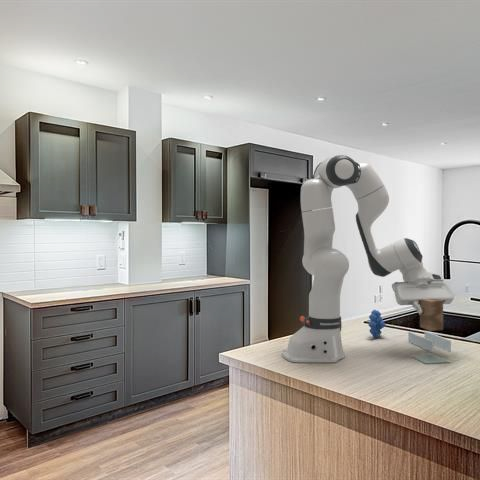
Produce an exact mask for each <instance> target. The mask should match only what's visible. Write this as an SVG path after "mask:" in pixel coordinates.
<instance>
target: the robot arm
mask: <svg viewBox="0 0 480 480" xmlns="http://www.w3.org/2000/svg"><path fill="white" fill-rule="evenodd" d="M344 186H345V187H347V189H349V190H350V192H351V193H352V195H353V196H354V199H355V201H356V203H357V208H358V210H357V213H356V214H355V222H356V226H357V228H358V229H357V230H358V231H359V236H360V239H361V241H362V244H363V245H362V246H363V248H364V250H365V254H366V257H367V263H368V267H369V269H370V271H371V273H373V275H375V276H377V277H381V278H385V277H387V276H389V275H390V274H392V273H394V272H396V271H399V272H400V274H401V275H402V280H403V281H395V282H394V283H392V284H391V288H392V290H393V292H394V298H395V301H396V303H397V304H398V305H399V306H412V308H413V309H415V310H416V311H417V313H418V315H420V314H424V313H425V311H424V308H421V307H420V300H421V299H437V300H441V301H443V305H450V304H452V303H453V300H454V299H455V295H454V293H453V291H452V288H450V285H449V284H448V283H447V282H445V278H444V276H443V275H441V274H436V273H433V272H430V271H427V270H426V268H425V267H424V263H423V257H424V255H423V254H422V252H421V251H420V248H419V245H418V244H417V242H416V241H415V240H413V239H410V238H408V237H407V238H406V237H404V238H402V239H399V240H396V241H394V242H393V243H390V244H389V245H386V246H383V247H382V248H377V247H376V243H375V241H374V238H373V235H372V232H371V230H372V229H371V228H372V225H373V224H374V222H375V221H376V220H377V219H378V218H379V217H380V216H381V215H382V214H383V213H384V212H385V210H386V209H387V207H388V206H389V202H390V197H389V193H388V191H387V188H386V186H385V184H384V183H383V180H382V179H381V178H380V176H379V174H378V173H377V172H376V170H375V169H374V167H372V165H370V163H367V162H356V161H355V160H354V159H353V158H351V157H350V156H347V155H346V154H345V155H344V154H339V155H334V156H332V157H328V158H326V159H324V160H323V161H321V162H320V163H318V164H317V166H316V167H315V169H314V172H313V175H312V178H310V179H308V180H306V181H305V182H303V183H302V185H301V187H300V210H301V211H300V212H301V217H302V225H303V236H304V239H303V256H302V260H301V261H302V266H303V268H304V269H305V271H306V272H307V273H308V274H309V275H311V276H313V282H312V286H311V290H310V291H309V294H308V315H307V316H306V317H305V316H303V315H301V316H300V317H299V320H300V322H302V323H303V326H302V327H301V328H300V329H298V330H297V331H296V332H295V333H293V334H292V335H291V336H290V337H289V340H288V344H287V348H284V349H282V351H281V356H282V357H283V358H284V359H285V360H286V361H289V362H292V363H338V361H339V360H341V359H344V358H345V352H344V348H343V341H342V336H341V335H342V328H343V327H342V317H341V294H342V293H341V292H342V286H343V282H344V278H345V276H346V274H347V273H348V271H349V268H350V263H349V259H348V257H347V256H346V254H344V253H343V252H342V251H340V250H339V249H337V248H334V247H333V239H334V233H335V231H336V224H335V216H334V210H333V209H334V208H333V202H332V193H333V191H334V189H338V188H341V187H344Z"/></svg>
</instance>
